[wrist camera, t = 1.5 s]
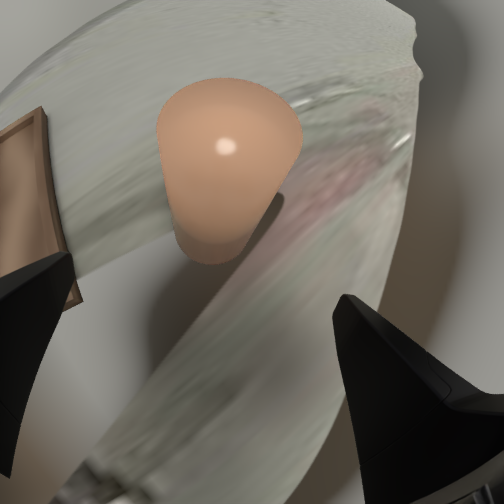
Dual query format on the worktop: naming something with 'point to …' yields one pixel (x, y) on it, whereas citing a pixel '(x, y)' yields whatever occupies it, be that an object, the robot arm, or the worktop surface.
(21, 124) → the walnut tray
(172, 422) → the worktop surface
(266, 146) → the peach tapered cylinder
